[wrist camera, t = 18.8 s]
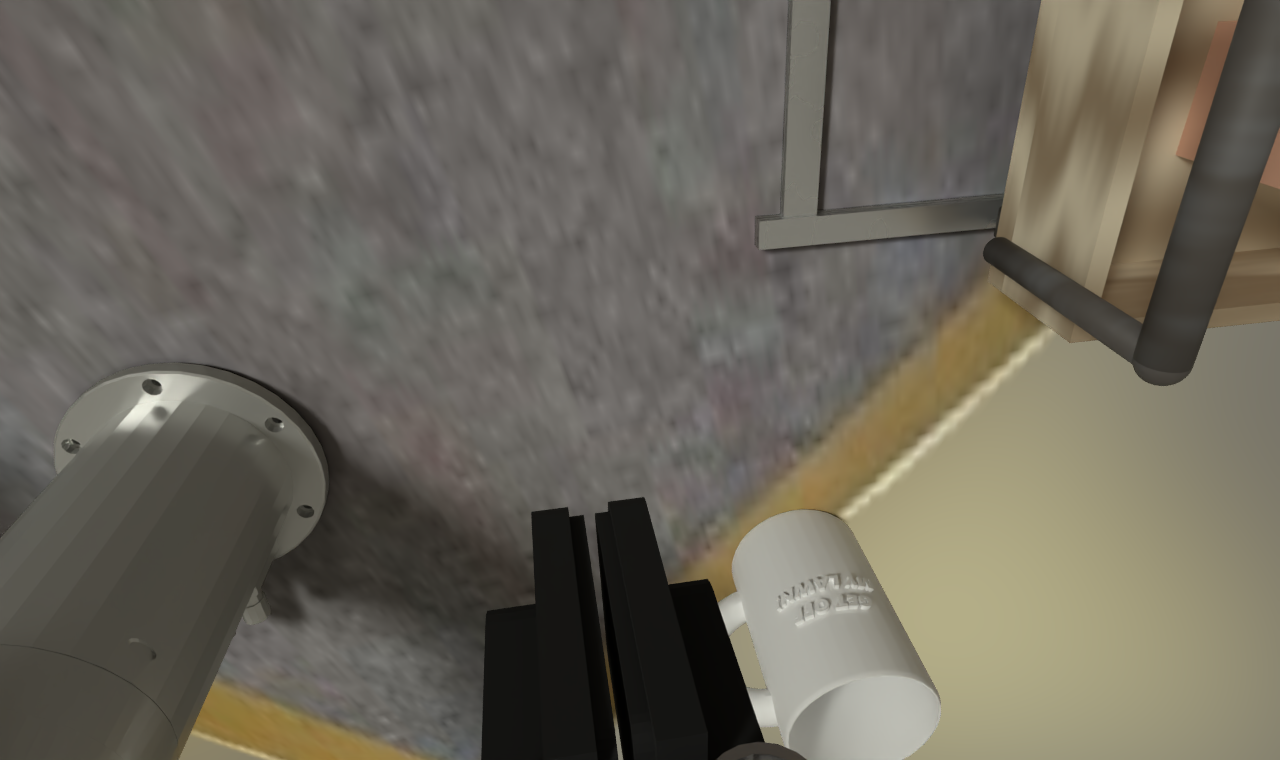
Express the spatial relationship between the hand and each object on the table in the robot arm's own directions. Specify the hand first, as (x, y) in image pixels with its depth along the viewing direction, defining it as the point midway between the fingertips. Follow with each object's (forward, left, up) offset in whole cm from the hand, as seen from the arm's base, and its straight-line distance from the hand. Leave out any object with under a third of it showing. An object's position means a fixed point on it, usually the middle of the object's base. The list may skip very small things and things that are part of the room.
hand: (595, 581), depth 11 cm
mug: (-26, -10, -26) cm, 38 cm away
